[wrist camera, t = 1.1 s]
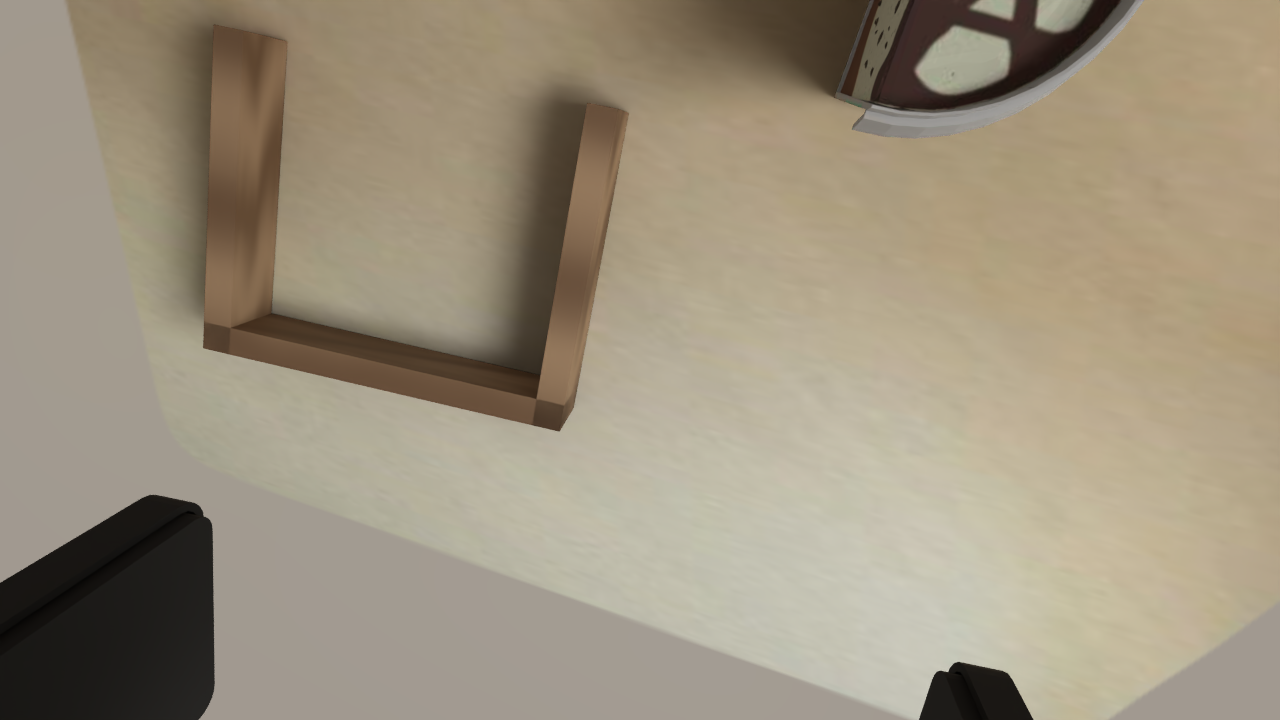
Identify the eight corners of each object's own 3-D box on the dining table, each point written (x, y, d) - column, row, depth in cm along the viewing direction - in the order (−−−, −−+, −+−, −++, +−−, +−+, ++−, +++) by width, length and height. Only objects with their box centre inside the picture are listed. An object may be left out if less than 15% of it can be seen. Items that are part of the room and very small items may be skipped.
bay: (260, 35, 32) (213, 24, 29) (628, 113, 31) (618, 109, 28) (245, 332, 35) (203, 348, 32) (573, 408, 34) (559, 431, 32)
